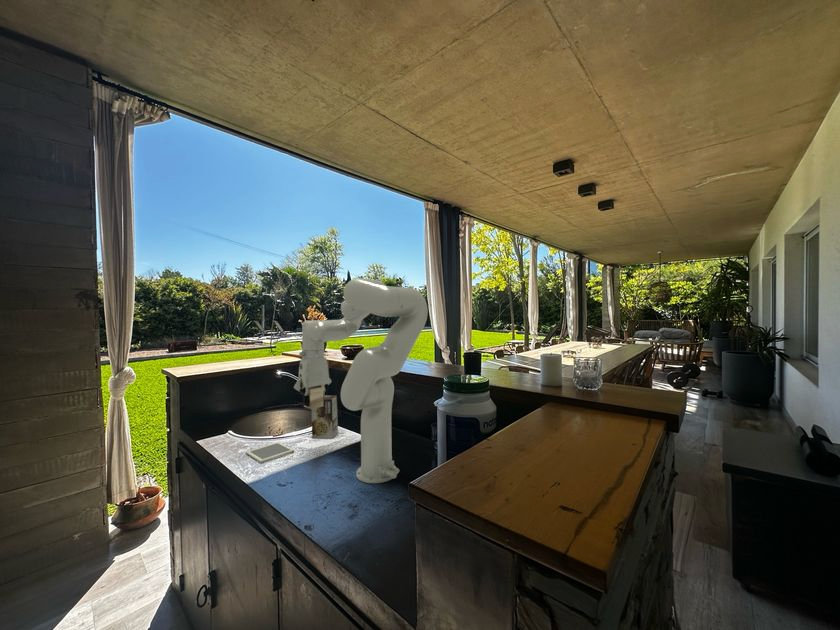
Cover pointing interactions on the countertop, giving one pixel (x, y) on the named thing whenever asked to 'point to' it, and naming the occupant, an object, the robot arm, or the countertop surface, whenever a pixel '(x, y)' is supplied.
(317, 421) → the coffee box
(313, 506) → the countertop surface
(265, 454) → the mat
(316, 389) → the block
